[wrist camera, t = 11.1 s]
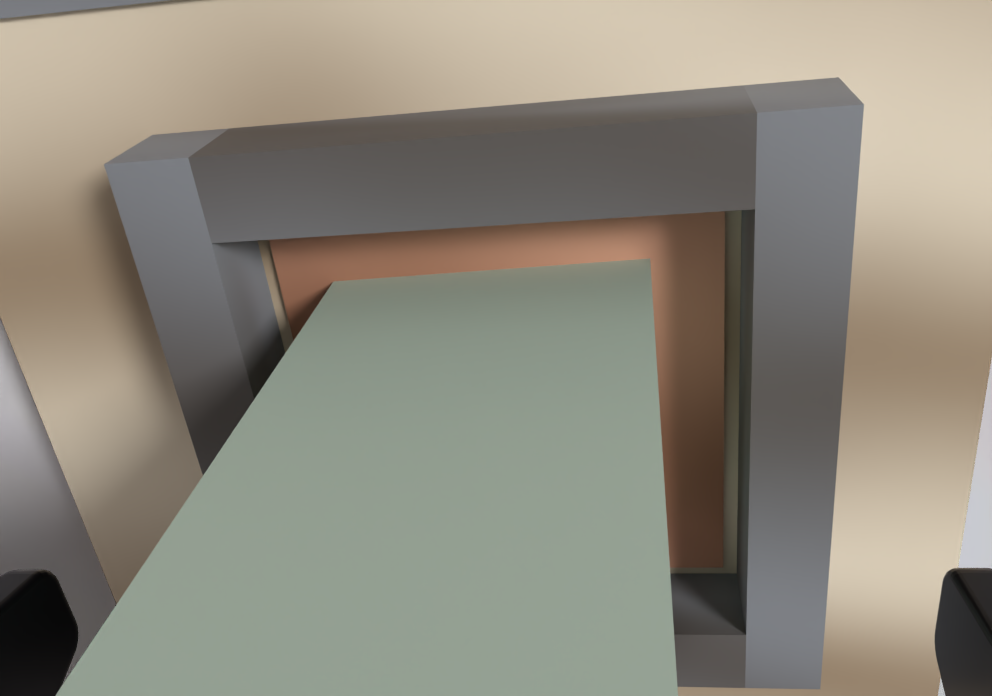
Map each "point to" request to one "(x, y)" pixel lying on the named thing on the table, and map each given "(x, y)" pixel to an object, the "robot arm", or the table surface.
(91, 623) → the table surface
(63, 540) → the table surface
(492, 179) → the board
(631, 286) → the block
